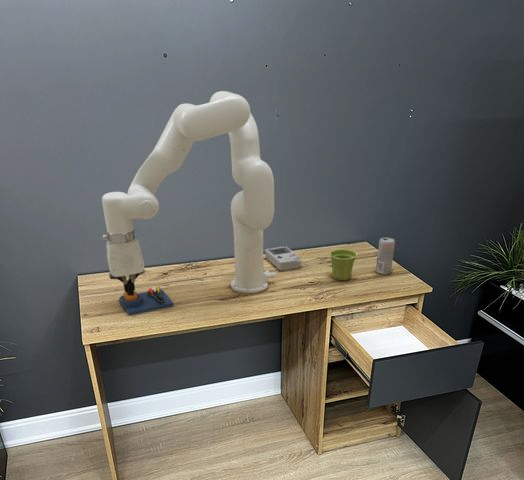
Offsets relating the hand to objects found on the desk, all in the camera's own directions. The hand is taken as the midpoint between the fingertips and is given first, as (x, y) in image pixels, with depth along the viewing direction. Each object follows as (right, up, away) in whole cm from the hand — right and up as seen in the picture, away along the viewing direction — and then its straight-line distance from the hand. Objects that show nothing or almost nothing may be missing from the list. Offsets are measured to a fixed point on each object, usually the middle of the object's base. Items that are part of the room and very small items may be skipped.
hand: (130, 293), depth 159 cm
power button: (0, -2, +1) cm, 2 cm away
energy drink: (+84, +10, +25) cm, 89 cm away
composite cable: (+7, -1, +5) cm, 8 cm away
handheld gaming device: (+49, +15, +33) cm, 61 cm away
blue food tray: (+4, -3, +4) cm, 6 cm away
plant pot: (+69, +8, +21) cm, 73 cm away
